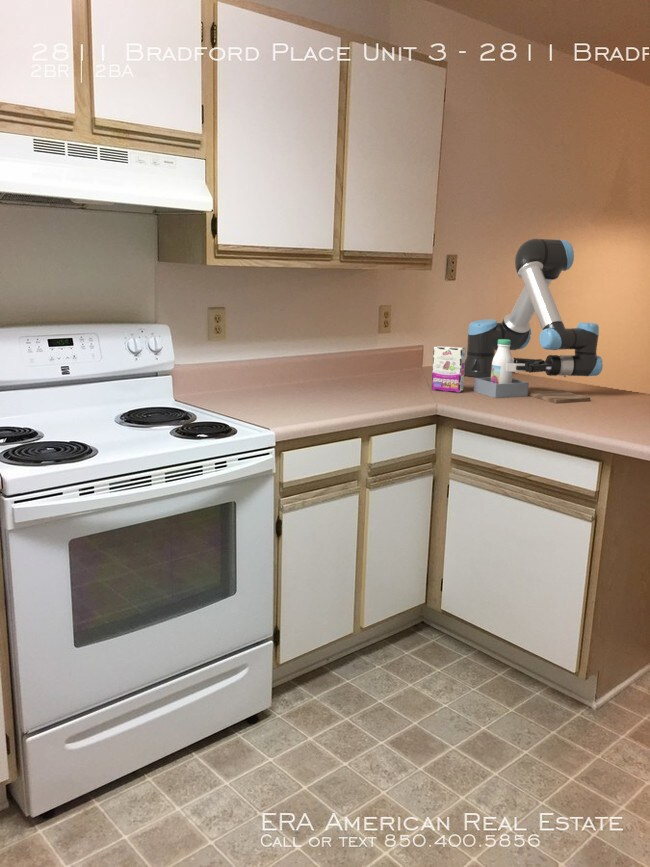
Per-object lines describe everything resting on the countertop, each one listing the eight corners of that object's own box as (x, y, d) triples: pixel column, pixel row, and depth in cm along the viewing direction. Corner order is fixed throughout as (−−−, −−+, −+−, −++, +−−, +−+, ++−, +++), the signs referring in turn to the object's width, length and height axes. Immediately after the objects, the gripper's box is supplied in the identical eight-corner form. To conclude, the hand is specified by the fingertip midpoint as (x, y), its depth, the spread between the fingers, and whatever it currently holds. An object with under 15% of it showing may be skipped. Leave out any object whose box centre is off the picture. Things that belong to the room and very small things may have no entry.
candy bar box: (463, 391, 273) (466, 347, 269) (459, 393, 268) (462, 348, 265) (435, 388, 278) (437, 345, 274) (430, 390, 273) (433, 346, 270)
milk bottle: (509, 392, 272) (513, 338, 268) (512, 396, 265) (516, 341, 260) (488, 391, 273) (492, 338, 268) (490, 395, 266) (495, 340, 261)
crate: (473, 391, 273) (474, 378, 272) (504, 389, 278) (505, 376, 277) (495, 398, 260) (496, 384, 259) (527, 396, 265) (528, 382, 264)
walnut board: (528, 395, 266) (529, 392, 266) (562, 393, 272) (562, 390, 271) (555, 403, 253) (556, 399, 252) (590, 401, 258) (590, 397, 258)
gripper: (569, 381, 256) (510, 380, 255) (546, 370, 280) (491, 369, 279) (571, 359, 254) (511, 359, 253) (547, 351, 278) (493, 350, 277)
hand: (501, 364), depth 266 cm, fingers open, 13 cm apart
